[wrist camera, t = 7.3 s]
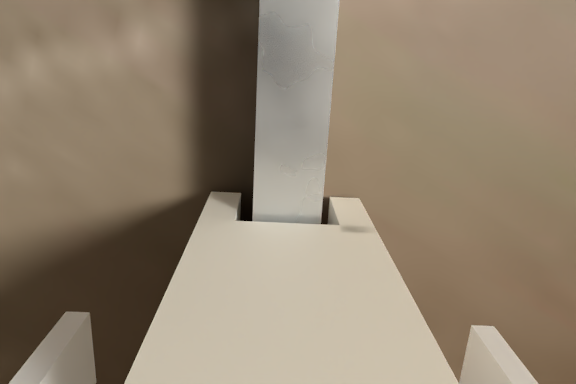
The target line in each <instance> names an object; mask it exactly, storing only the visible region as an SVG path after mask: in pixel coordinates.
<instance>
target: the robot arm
mask: <svg viewBox="0 0 576 384" xmlns="http://www.w3.org/2000/svg"><path fill="white" fill-rule="evenodd" d="M95 383H96V372H95V361H94V351H93V340H92V330H91V320H90V312H65V313H64V315H63V316H62V317H61V318H60V320H59V321H58V322H57V323H56V325H55V326H54V327H53V328H52V330H51V331H50V332H49V333H48V335H47V336H46V337H45V338H44V340H43V341H42V342H41V343H40V345H39V346H38V347H37V348H36V350H35V351H34V352H33V353H32V355H31V356H30V357H29V358H28V360H27V361H26V362H25V364H24V365H23V366H22V367H21V369H20V370H19V371H18V372H17V374H16V375H15V376H14V377H13V379H12V380H11V381H10V382H9V384H95ZM459 384H538V383H537V381H536V380H535V379H534V378H533V376H532V375H531V374H530V372H529V371H528V370H527V369H526V367H525V366H524V365H523V363H522V362H521V361H520V359H519V358H518V357H517V356H516V354H515V353H514V352H513V350H512V349H511V348H510V347H509V345H508V344H507V343H506V341H505V340H504V339H503V337H502V336H501V335H500V334H499V332H498V331H497V330H496V328H495V327H494V326H475V325H471V330H470V335H469V339H468V344H467V349H466V353H465V358H464V363H463V367H462V372H461V377H460V382H459Z"/></svg>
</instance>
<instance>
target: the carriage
mask: <svg viewBox="0 0 576 384" xmlns="http://www.w3.org/2000/svg"><path fill="white" fill-rule="evenodd" d="M240 218H241V193H231V192H211V193H210V195H209V198H208V200H207V202H206V204H205V206H204V209H203V211H202V213H201V215H200V217H199V220H198V222H197V224H196V226H195V228H194V231H193V233H192V235H191V237H190V239H189V242H188V244H187V246H186V248H185V250H184V253H183V255H182V257H181V259H180V261H179V264H178V266H177V268H176V270H175V272H174V275H173V277H172V279H171V281H170V284H169V286H168V288H167V290H166V292H165V295H164V297H163V299H162V301H161V303H160V306H159V308H158V310H157V312H156V314H155V317H154V319H153V321H152V323H151V325H150V328H149V330H148V332H147V334H146V336H145V339H144V341H143V343H142V345H141V347H140V350H139V352H138V354H137V356H136V358H135V361H134V363H133V365H132V367H131V369H130V372H129V374H128V376H127V378H126V380H125V383H124V384H459V383H458V381H457V379H456V378H455V376H454V374H453V372H452V370H451V368H450V366H449V365H448V363H447V361H446V359H445V357H444V355H443V353H442V351H441V350H440V348H439V346H438V344H437V342H436V340H435V338H434V337H433V335H432V333H431V331H430V329H429V327H428V325H427V324H426V322H425V320H424V318H423V316H422V314H421V312H420V311H419V309H418V307H417V305H416V303H415V301H414V299H413V298H412V296H411V294H410V292H409V290H408V288H407V286H406V285H405V283H404V281H403V279H402V277H401V275H400V273H399V272H398V270H397V268H396V266H395V264H394V262H393V260H392V258H391V257H390V255H389V253H388V251H387V249H386V247H385V245H384V244H383V242H382V240H381V238H380V236H379V234H378V232H377V231H376V229H375V227H374V225H373V223H372V221H371V219H370V218H369V216H368V214H367V212H366V210H365V208H364V206H363V205H362V203H361V201H360V199H359V198H342V197H330V201H329V212H328V223H327V225H325V224H302V223H278V222H254V221H240Z"/></svg>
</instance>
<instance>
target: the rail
mask: <svg viewBox="0 0 576 384" xmlns="http://www.w3.org/2000/svg"><path fill="white" fill-rule="evenodd" d="M339 1H340V0H260V5H259V36H258V66H257V97H256V128H255V158H254V189H253V220H252V221H254V222H278V223H302V224H321V216H322V204H323V192H324V180H325V168H326V156H327V144H328V132H329V120H330V108H331V96H332V84H333V72H334V61H335V49H336V37H337V25H338V13H339Z"/></svg>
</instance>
